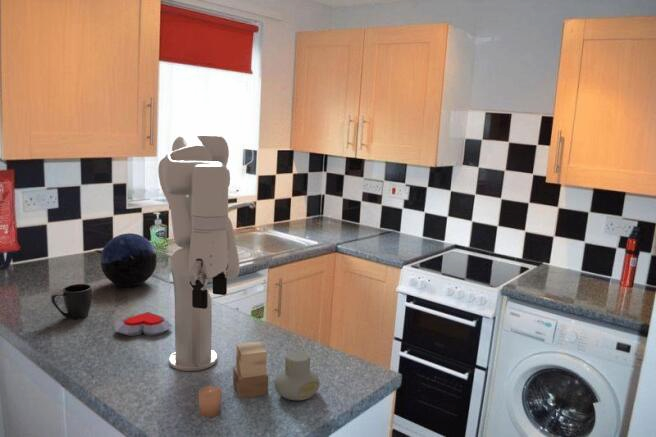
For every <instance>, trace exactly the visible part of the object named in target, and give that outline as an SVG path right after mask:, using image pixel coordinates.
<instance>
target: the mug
mask: <svg viewBox="0 0 656 437" xmlns="http://www.w3.org/2000/svg"><path fill="white" fill-rule="evenodd" d="M92 287H93V286H91V285H90V284H86V283H77V284H70V285H67V286H64V287H63V289H62V291H63V292H62V293H55V294H52V295H51V297H50V299H51V300H50V301H51V303H52V305H53V306H54V307H55V308H56V309H57V311H58V312H59V313H60V314H61V315H62V316H63V317H64V318H65V319H66V318H67V319H71V320H83V319H85V318H87V317H88V316H89V314H90V309H91V305H92V301H93V300H92V297H93V296H92V295H93V290H92ZM59 296H61V297H63V303H64V307H65V310H66V312H64V311H63V310H62V309H61V308H60V307H59V306H58V305H57V303H56V300H55V298H56V297H59Z"/></svg>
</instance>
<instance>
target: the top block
mask: <svg viewBox="0 0 656 437" xmlns="http://www.w3.org/2000/svg"><path fill="white" fill-rule="evenodd" d="M267 353H268V352H267V350H266V348H265V347H264V345H263V343H262V342H261V341H254V342H253V341H252V342H246V343H245V342H244V343H237V344H236V354H235V355H236V356H235V357H236V359H235V360H236V361H235V363H236V365H235V366H236V367H237V370H238V372H239V374H240V376H241V378H247V377H254V376H261V375H266V372H267V356H268V355H267Z"/></svg>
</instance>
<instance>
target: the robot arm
mask: <svg viewBox="0 0 656 437" xmlns="http://www.w3.org/2000/svg"><path fill="white" fill-rule="evenodd" d="M229 150H230V149H229V146H228V142H227V140H226V139H225V138H224V137H223V136H222V135H218V134H201V133H199V134H198V133H185V134H181V135H180V136H178V137H177V138H176V139H174V141H173V143H172V146H171V152H168V153H167V154H166V155H165V156H164V157H163V158H162V159H161V160H159V162H158V168H157V170H158V172H157V173H158V180H159V184H160V185H159V186H160V188H161V190H162V192H163V195H164V197H165V199H166V201H167V203H168V206H169V209H170V218H171V227H172V235H173V238H174V239H173V240H174V241H175V244H176V245H177V247H179V248H178V249H177V250H176V251H174V252H173V253H172V255H171V257H170V269H171V270H170V271H171V275H172V280H173V290H174V345H175V346H174V349H175V350H174V352H173V353H171V354H170V356H169V358H168V363H169V365H170V366H171V367H172V368H174V369H175V370H178V371H183V372H193V371H194V372H195V371H196V372H197V371H202V370H205V369H209V368H210V367H212V366H214V365H215V364H216V363H217V361H218V354H217V352H216V351H215V350H213V349H212V343H213V342H212V337H213V336H212V333H213V332H212V330H213V329H212V327H213V326H212V324H213V323H212V320H213V319H212V317H213V314H212V306H213V303H212V302H213V301H212V296H211V294H210V293H209V290H208V289H207V285H208V283H212V293H213V295H220V296H226V295H227V293H228V282H229V281H233V280H235V279H236V278H237V277H238V275H239V273H240V259H239V253H238V248H237V247H238V246H237V242H236V237H235V232H234V231H235V230H234V228H233V223H232V220H231V219H230V217H229V187H230V185H231V174H230V170H229V169H228V168H227V165H228V162H229V157H230V156H229V155H230V154H229V153H230V151H229Z"/></svg>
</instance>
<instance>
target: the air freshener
mask: <svg viewBox="0 0 656 437" xmlns="http://www.w3.org/2000/svg"><path fill="white" fill-rule="evenodd" d="M284 364H285V366H284V369H282V370H281V371H279V373H277V375H276V376H275V378H274V381H273V382H274V384H273V385H274V388H275V391H276V393H278V394H279V395H280V396H281V397H283V398H284V399H287V400H291V401H304V400H307V399H309V398H311V397H312V396H314V395H315V394H317V392H318V390H319V388H320V379H319V376H318V375H317V374H316V373H315V372H314V371H313V370H311V356H310V355H309V354H308V353H307V352H304V351H291V352H289V353H287V355H286V356H285V363H284Z"/></svg>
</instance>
